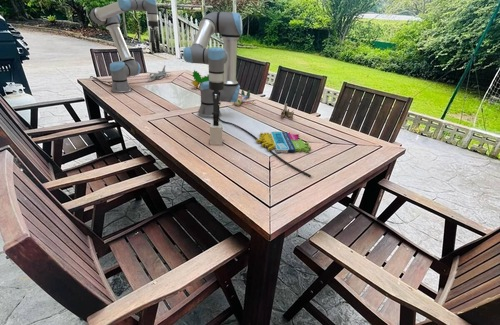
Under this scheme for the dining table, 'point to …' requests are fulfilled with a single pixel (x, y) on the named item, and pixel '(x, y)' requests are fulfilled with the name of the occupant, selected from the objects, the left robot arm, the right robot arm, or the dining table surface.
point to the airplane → (158, 75)
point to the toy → (243, 98)
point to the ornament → (199, 79)
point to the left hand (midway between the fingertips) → (156, 50)
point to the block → (216, 134)
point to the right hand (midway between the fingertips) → (216, 120)
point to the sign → (283, 142)
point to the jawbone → (287, 112)
